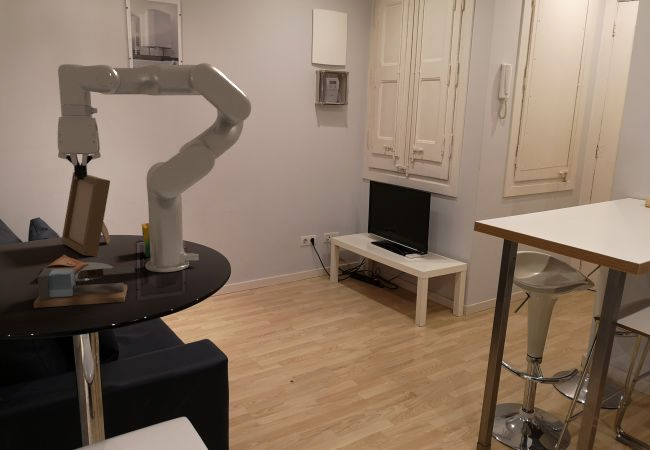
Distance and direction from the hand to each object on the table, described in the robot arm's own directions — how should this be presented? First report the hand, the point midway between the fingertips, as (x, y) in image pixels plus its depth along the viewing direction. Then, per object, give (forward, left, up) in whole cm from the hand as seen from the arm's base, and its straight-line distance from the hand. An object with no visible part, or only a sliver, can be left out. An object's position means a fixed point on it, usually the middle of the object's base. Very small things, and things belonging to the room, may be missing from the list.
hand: (81, 179), depth 147 cm
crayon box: (-16, -18, -27) cm, 36 cm away
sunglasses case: (+6, -1, -28) cm, 29 cm away
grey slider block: (+2, +22, -26) cm, 34 cm away
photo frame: (+2, -30, -27) cm, 41 cm away
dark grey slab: (+6, +22, -26) cm, 35 cm away
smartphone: (-5, +1, -28) cm, 28 cm away
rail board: (-2, +22, -27) cm, 35 cm away
